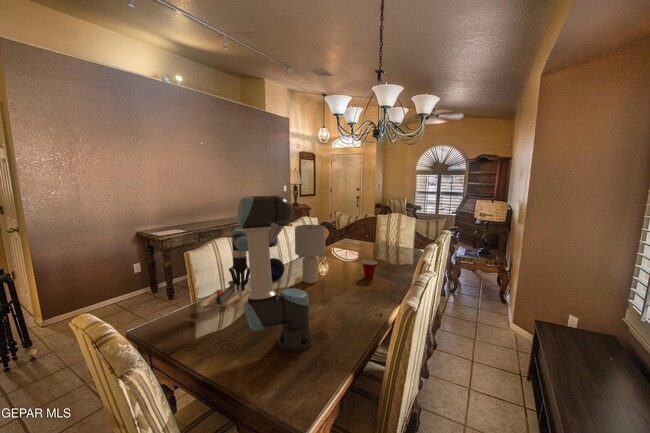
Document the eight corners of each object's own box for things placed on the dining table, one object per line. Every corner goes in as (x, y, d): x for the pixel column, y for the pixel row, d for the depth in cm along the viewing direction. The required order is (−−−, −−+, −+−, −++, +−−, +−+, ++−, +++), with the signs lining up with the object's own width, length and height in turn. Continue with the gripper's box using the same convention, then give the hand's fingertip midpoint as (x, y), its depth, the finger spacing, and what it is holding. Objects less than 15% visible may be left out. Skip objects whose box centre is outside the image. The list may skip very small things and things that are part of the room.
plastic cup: (376, 275, 206) (377, 260, 205) (376, 281, 196) (376, 264, 194) (362, 274, 209) (362, 258, 207) (360, 279, 199) (360, 263, 197)
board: (258, 293, 174) (258, 291, 174) (245, 309, 153) (245, 307, 153) (218, 291, 177) (217, 289, 177) (199, 307, 155) (199, 305, 155)
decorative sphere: (269, 285, 187) (269, 263, 185) (258, 278, 198) (258, 258, 196) (288, 279, 197) (288, 259, 195) (277, 274, 208) (276, 254, 206)
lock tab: (219, 293, 161) (219, 289, 160) (222, 293, 160) (222, 289, 160) (216, 295, 158) (216, 291, 157) (219, 295, 157) (219, 291, 157)
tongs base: (231, 291, 174) (231, 282, 173) (235, 291, 174) (235, 283, 173) (214, 304, 156) (214, 295, 155) (219, 305, 155) (218, 295, 155)
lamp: (330, 283, 192) (331, 226, 186) (304, 289, 180) (304, 230, 175) (314, 274, 208) (314, 222, 203) (290, 279, 197) (289, 225, 191)
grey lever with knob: (230, 290, 175) (230, 280, 174) (238, 290, 175) (237, 280, 174) (214, 304, 156) (214, 293, 155) (222, 304, 155) (222, 293, 154)
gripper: (253, 254, 162) (254, 293, 165) (231, 254, 163) (233, 292, 167) (248, 258, 155) (249, 299, 158) (225, 257, 156) (227, 298, 159)
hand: (241, 296), depth 162 cm, fingers closed
